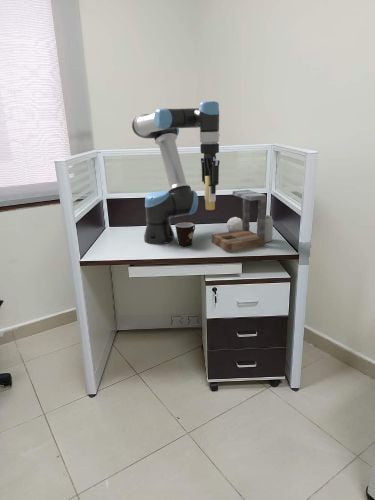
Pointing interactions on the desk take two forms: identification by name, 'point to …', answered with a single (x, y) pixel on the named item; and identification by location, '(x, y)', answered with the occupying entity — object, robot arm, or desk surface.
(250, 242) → the socket board
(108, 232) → the desk surface
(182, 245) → the coffee mug
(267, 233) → the can
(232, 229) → the white rounded lump
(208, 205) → the peg
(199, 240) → the desk surface
